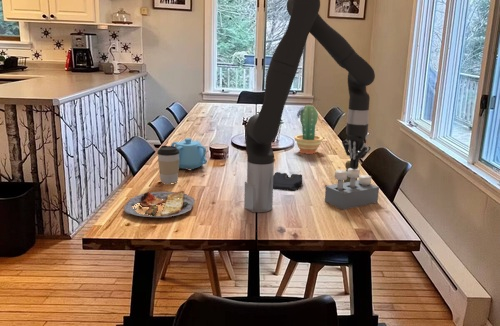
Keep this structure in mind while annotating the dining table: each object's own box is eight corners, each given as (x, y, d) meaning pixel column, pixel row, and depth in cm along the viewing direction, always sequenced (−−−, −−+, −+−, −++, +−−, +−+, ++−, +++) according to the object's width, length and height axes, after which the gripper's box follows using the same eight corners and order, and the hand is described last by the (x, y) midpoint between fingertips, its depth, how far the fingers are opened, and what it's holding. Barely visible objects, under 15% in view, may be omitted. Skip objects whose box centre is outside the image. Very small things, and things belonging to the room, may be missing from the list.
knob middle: (351, 194, 165) (353, 171, 163) (343, 190, 169) (345, 168, 167) (360, 192, 167) (362, 170, 165) (352, 189, 171) (354, 167, 169)
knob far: (363, 200, 169) (364, 179, 167) (354, 197, 173) (356, 176, 170) (371, 199, 171) (373, 177, 169) (363, 195, 175) (365, 174, 173)
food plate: (137, 194, 172) (136, 186, 171) (198, 197, 171) (198, 188, 170) (116, 222, 148) (116, 212, 147) (187, 225, 147) (187, 215, 146)
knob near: (338, 196, 162) (340, 174, 160) (330, 193, 166) (332, 170, 164) (348, 194, 164) (350, 172, 162) (340, 191, 168) (341, 169, 166)
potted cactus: (306, 147, 255) (308, 102, 248) (328, 152, 244) (331, 106, 237) (287, 151, 245) (289, 105, 238) (309, 156, 234) (312, 108, 227)
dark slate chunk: (254, 177, 199) (254, 166, 198) (304, 181, 194) (304, 171, 193) (245, 187, 185) (245, 176, 183) (299, 193, 180) (299, 181, 178)
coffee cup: (184, 182, 188) (184, 147, 185) (167, 186, 182) (165, 150, 178) (171, 177, 194) (170, 143, 190) (153, 181, 188) (152, 146, 184)
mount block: (342, 209, 161) (343, 193, 159) (324, 201, 169) (325, 186, 168) (377, 202, 169) (379, 187, 168) (358, 194, 177) (360, 179, 176)
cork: (346, 183, 191) (348, 158, 188) (360, 186, 187) (362, 161, 184) (339, 187, 186) (341, 161, 183) (353, 190, 183) (355, 163, 180)
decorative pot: (170, 163, 217) (169, 135, 214) (203, 161, 220) (203, 134, 217) (171, 172, 202) (170, 143, 198) (207, 171, 205) (207, 141, 201)
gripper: (337, 119, 165) (334, 165, 170) (362, 125, 154) (358, 174, 158) (352, 118, 169) (349, 163, 173) (378, 124, 158) (374, 171, 162)
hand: (354, 168), depth 166 cm, fingers closed
